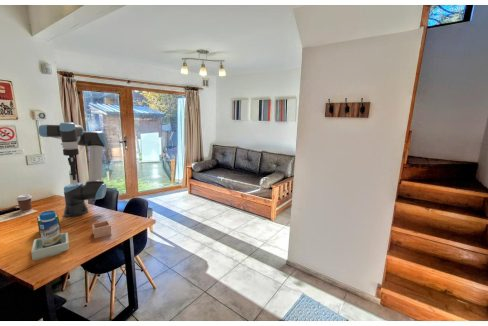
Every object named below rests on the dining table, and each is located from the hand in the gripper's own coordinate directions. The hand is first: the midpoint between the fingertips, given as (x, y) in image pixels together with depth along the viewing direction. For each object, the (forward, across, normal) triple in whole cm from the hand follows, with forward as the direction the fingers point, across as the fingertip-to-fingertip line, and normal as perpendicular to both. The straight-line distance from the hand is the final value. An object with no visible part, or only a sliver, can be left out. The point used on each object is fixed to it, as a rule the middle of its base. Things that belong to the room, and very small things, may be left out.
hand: (74, 182), depth 145 cm
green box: (+32, +18, -14) cm, 40 cm away
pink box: (+32, +15, +10) cm, 37 cm away
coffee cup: (+34, -62, -33) cm, 78 cm away
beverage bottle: (+31, +16, -14) cm, 38 cm away
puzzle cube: (+33, -10, -16) cm, 38 cm away
